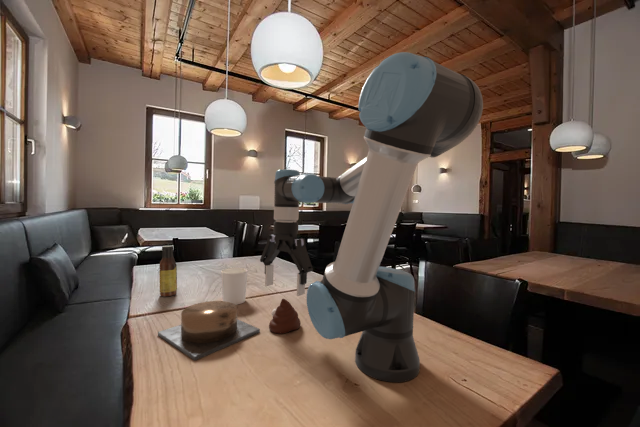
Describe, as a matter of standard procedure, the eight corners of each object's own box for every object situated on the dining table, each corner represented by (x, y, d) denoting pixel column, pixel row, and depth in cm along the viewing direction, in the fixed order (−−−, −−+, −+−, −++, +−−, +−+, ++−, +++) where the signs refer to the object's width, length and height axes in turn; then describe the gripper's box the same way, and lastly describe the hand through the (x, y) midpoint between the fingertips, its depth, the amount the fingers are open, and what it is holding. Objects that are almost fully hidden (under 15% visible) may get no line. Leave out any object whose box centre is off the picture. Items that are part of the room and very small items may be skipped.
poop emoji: (277, 337, 81) (278, 305, 81) (263, 327, 87) (264, 297, 87) (305, 328, 87) (306, 298, 87) (290, 319, 94) (291, 291, 93)
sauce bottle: (180, 294, 116) (180, 246, 115) (164, 298, 111) (165, 247, 110) (171, 291, 119) (171, 244, 119) (155, 295, 114) (156, 246, 114)
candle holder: (239, 307, 104) (240, 274, 103) (215, 304, 106) (215, 272, 105) (251, 298, 113) (252, 268, 113) (229, 296, 115) (229, 267, 115)
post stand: (259, 332, 84) (260, 308, 83) (194, 360, 68) (195, 331, 68) (220, 314, 96) (221, 294, 96) (157, 335, 80) (158, 310, 80)
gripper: (326, 223, 82) (323, 296, 83) (267, 218, 97) (266, 279, 98) (309, 224, 76) (307, 302, 77) (250, 218, 91) (248, 283, 92)
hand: (284, 289), depth 87 cm, fingers open, 13 cm apart
